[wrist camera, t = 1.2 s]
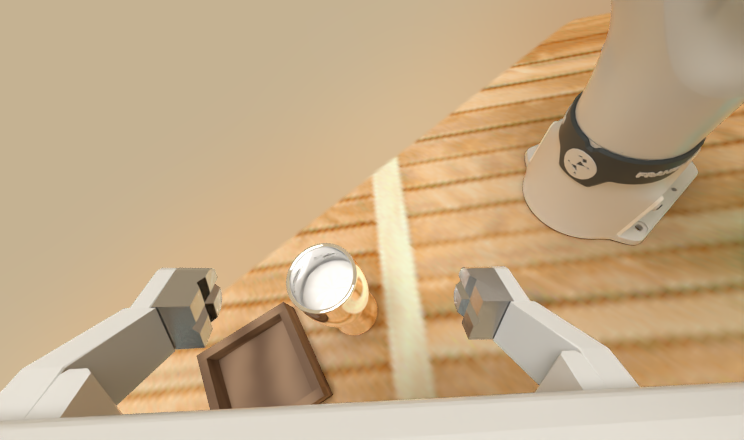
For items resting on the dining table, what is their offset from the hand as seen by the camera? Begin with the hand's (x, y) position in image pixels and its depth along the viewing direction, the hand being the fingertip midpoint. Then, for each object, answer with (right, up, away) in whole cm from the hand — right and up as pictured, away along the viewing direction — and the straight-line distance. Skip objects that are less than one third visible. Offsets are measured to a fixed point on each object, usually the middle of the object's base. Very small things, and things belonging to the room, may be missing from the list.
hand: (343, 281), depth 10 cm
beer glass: (-1, -10, +30) cm, 32 cm away
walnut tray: (-12, -17, +28) cm, 35 cm away
